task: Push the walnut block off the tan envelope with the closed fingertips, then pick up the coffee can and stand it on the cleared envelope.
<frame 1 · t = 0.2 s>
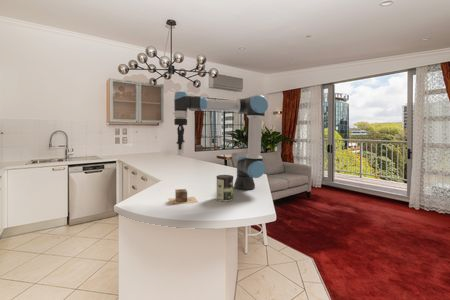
hand: (180, 153, 142), 27 cm above the countertop, fingers open, 13 cm apart
coffee can: (224, 199, 144), on the countertop
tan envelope: (182, 201, 138), on the countertop
walnut block: (181, 200, 138), resting on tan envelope
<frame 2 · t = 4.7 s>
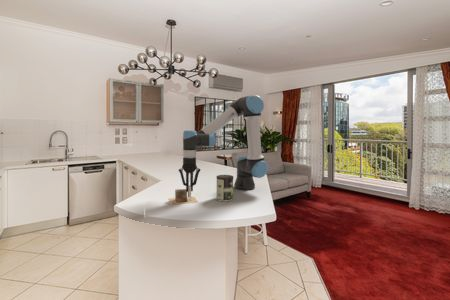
hand: (189, 196, 139), 2 cm above the countertop, fingers closed
walnut block: (181, 200, 137), resting on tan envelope, touching gripper
everything else where it was.
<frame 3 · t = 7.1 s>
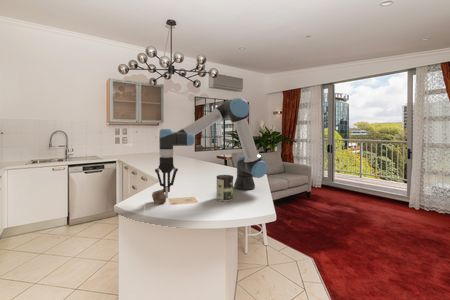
hand: (166, 197, 134), 3 cm above the countertop, fingers closed
walnut block: (160, 201, 134), point 1 cm above the countertop, tilted 15°, touching gripper
everything else where it was.
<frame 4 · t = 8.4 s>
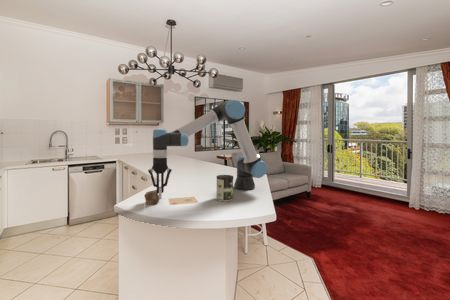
hand: (160, 198, 133), 3 cm above the countertop, fingers closed
walnut block: (153, 202, 133), point 1 cm above the countertop, tilted 14°, touching gripper
everything else where it was.
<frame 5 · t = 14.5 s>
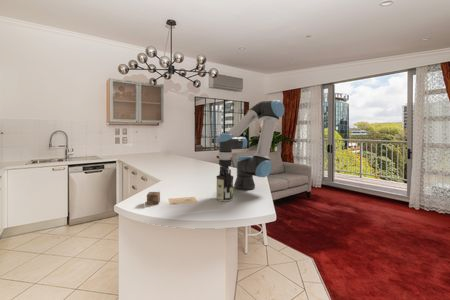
hand: (224, 195, 144), 2 cm above the countertop, fingers closed on coffee can, 10 cm apart
coffee can: (224, 199, 144), on the countertop, touching gripper
walnut block: (153, 203, 133), on the countertop
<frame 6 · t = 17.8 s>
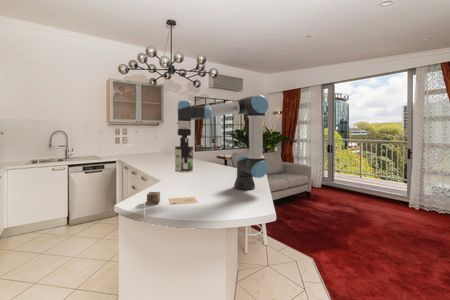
hand: (183, 167, 136), 20 cm above the countertop, fingers closed on coffee can, 10 cm apart
coffee can: (183, 171, 136), point 18 cm above the countertop, touching gripper
everything else where it was.
when the fingers open (4 cm above the countertop, at t = 21.5 s): coffee can moves 1 cm, resting on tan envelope.
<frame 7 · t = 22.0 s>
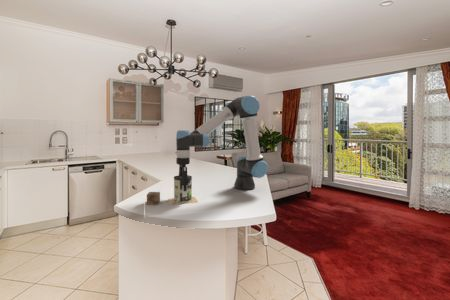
hand: (183, 193, 137), 5 cm above the countertop, fingers open, 13 cm apart
coffee can: (182, 200, 138), resting on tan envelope
everything else where it was.
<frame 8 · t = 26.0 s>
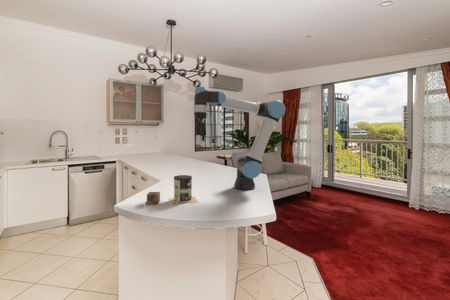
hand: (200, 145, 151), 32 cm above the countertop, fingers open, 13 cm apart
nothing on the countertop moved.
at the end: coffee can inside the target area on the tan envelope (0.4 cm from its centre), point 0.2 cm above the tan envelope's base; coffee can tilted 0°; walnut block inside the target area on the countertop beside the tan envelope (4.5 cm from its centre), on the countertop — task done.
